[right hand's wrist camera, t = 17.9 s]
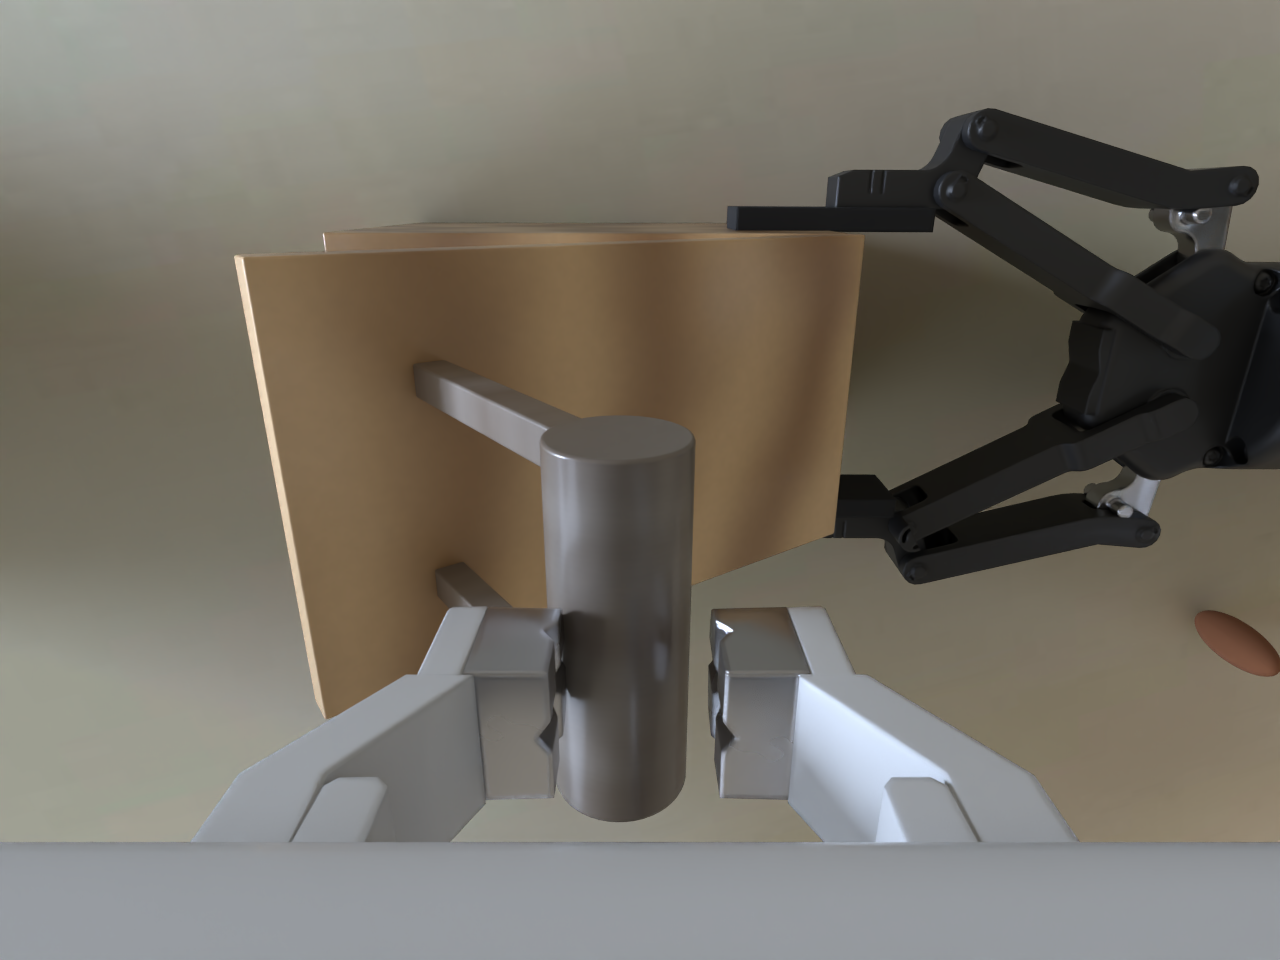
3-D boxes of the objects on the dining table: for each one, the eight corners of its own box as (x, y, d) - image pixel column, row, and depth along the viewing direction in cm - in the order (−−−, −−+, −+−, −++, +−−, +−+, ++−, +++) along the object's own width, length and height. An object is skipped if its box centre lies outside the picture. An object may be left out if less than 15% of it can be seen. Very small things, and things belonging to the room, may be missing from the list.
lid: (315, 700, 17) (478, 1030, 10) (233, 253, 13) (397, 309, 7) (815, 525, 26) (1073, 638, 19) (842, 233, 22) (1168, 248, 16)
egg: (1205, 592, 39) (1283, 645, 34) (1227, 613, 39) (1307, 669, 34) (1172, 617, 39) (1245, 673, 35) (1194, 638, 40) (1268, 696, 35)
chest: (439, 433, 36) (363, 524, 26) (418, 222, 32) (322, 232, 22) (768, 433, 36) (821, 523, 26) (782, 223, 32) (849, 233, 22)
